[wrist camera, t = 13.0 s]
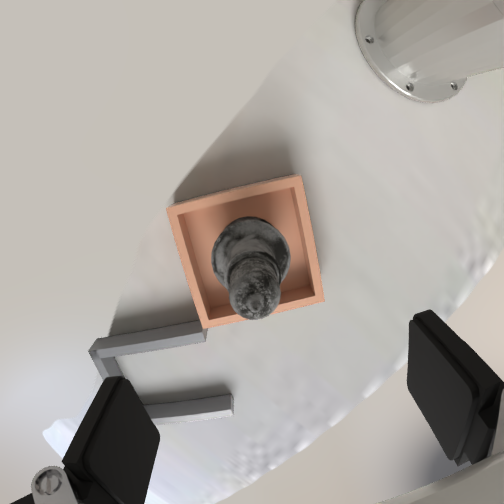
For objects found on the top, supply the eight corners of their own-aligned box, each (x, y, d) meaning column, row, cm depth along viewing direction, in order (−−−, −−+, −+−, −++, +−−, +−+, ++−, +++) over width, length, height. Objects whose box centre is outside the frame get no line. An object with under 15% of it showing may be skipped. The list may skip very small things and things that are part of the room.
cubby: (204, 319, 30) (202, 332, 27) (233, 400, 32) (233, 415, 30) (97, 338, 30) (88, 351, 28) (135, 412, 33) (130, 426, 30)
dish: (294, 174, 26) (301, 175, 23) (317, 287, 29) (324, 301, 26) (173, 203, 27) (165, 208, 24) (206, 313, 29) (203, 329, 27)
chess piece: (200, 251, 27) (173, 315, 16) (245, 197, 26) (250, 226, 15) (253, 293, 28) (261, 376, 17) (298, 243, 27) (339, 302, 16)
